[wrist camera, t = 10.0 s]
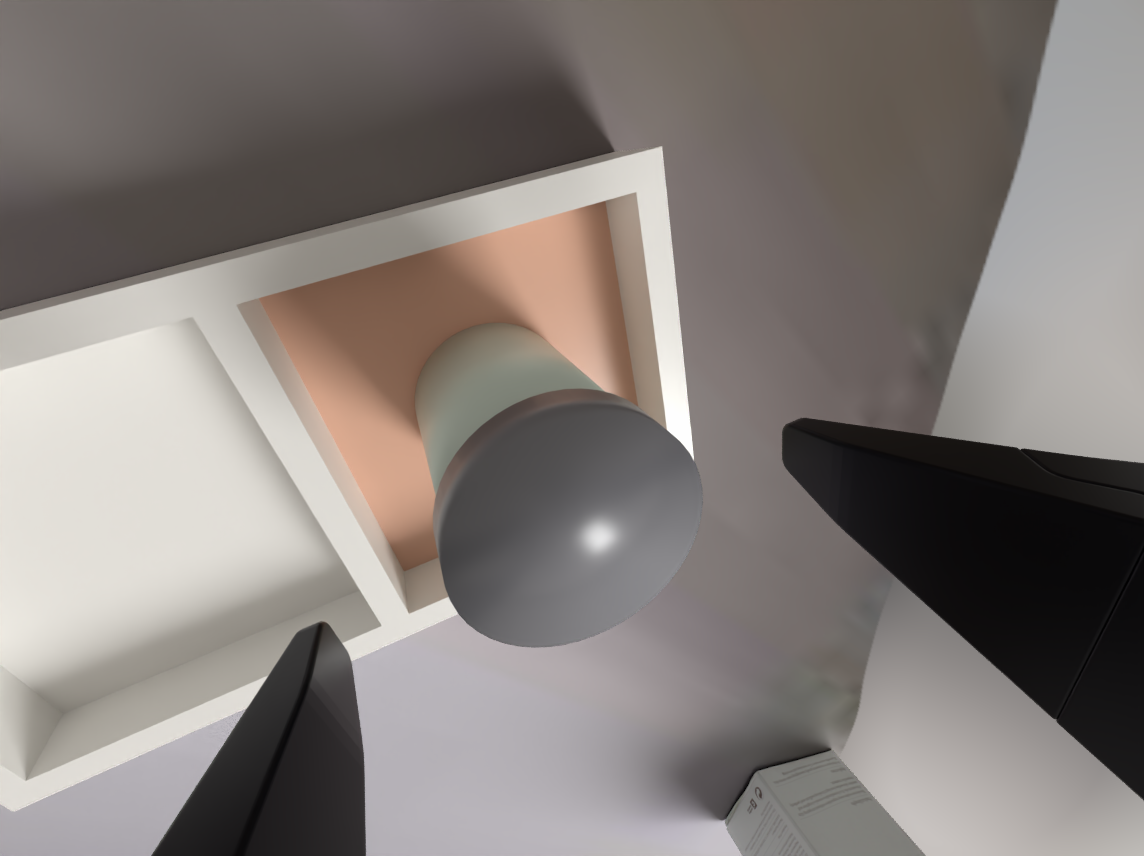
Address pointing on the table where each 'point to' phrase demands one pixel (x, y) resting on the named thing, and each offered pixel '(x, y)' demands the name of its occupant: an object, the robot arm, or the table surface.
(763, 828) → the skincare box
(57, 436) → the sorting tray
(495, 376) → the grey mushroom
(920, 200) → the table surface
